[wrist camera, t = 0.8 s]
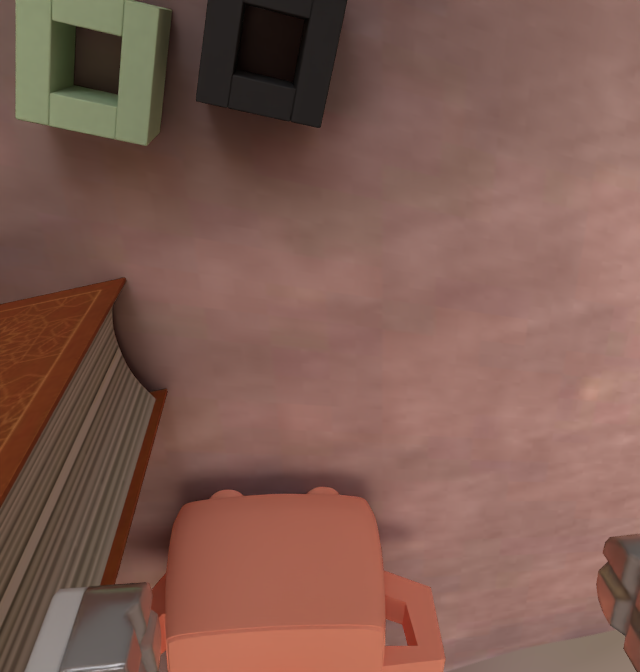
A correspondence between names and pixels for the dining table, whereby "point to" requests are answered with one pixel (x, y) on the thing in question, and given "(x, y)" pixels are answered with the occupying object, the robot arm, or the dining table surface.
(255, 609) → the teapot
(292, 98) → the black hollow square block
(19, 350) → the book
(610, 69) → the dining table surface
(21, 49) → the green hollow square block
